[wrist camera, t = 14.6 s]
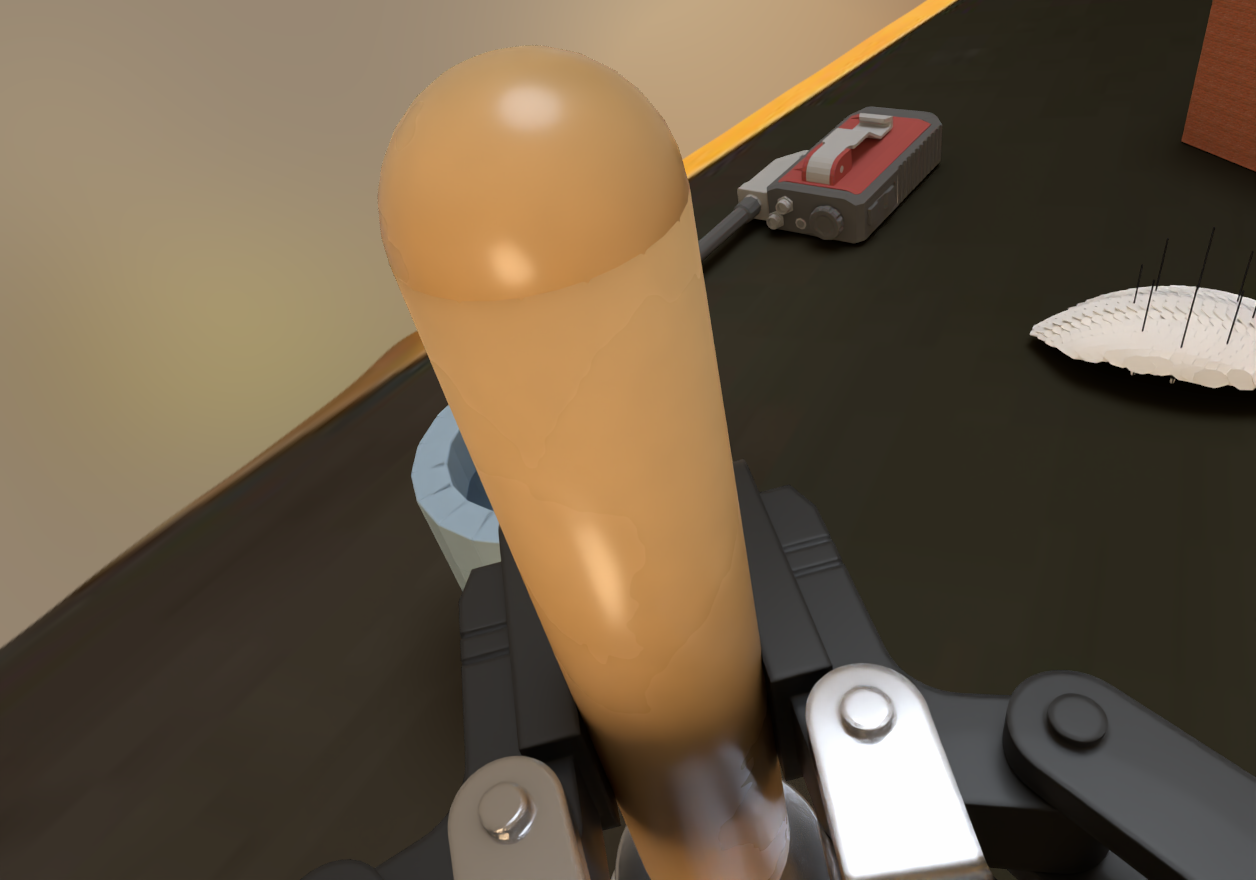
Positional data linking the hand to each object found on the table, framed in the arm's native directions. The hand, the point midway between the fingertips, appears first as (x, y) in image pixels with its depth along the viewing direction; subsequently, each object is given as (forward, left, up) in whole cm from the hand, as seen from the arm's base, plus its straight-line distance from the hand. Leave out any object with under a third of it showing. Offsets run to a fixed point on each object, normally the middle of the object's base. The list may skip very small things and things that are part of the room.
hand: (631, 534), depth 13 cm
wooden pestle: (-2, -2, -11) cm, 11 cm away
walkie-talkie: (+39, +17, -19) cm, 46 cm away
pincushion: (+31, -4, -19) cm, 36 cm away
